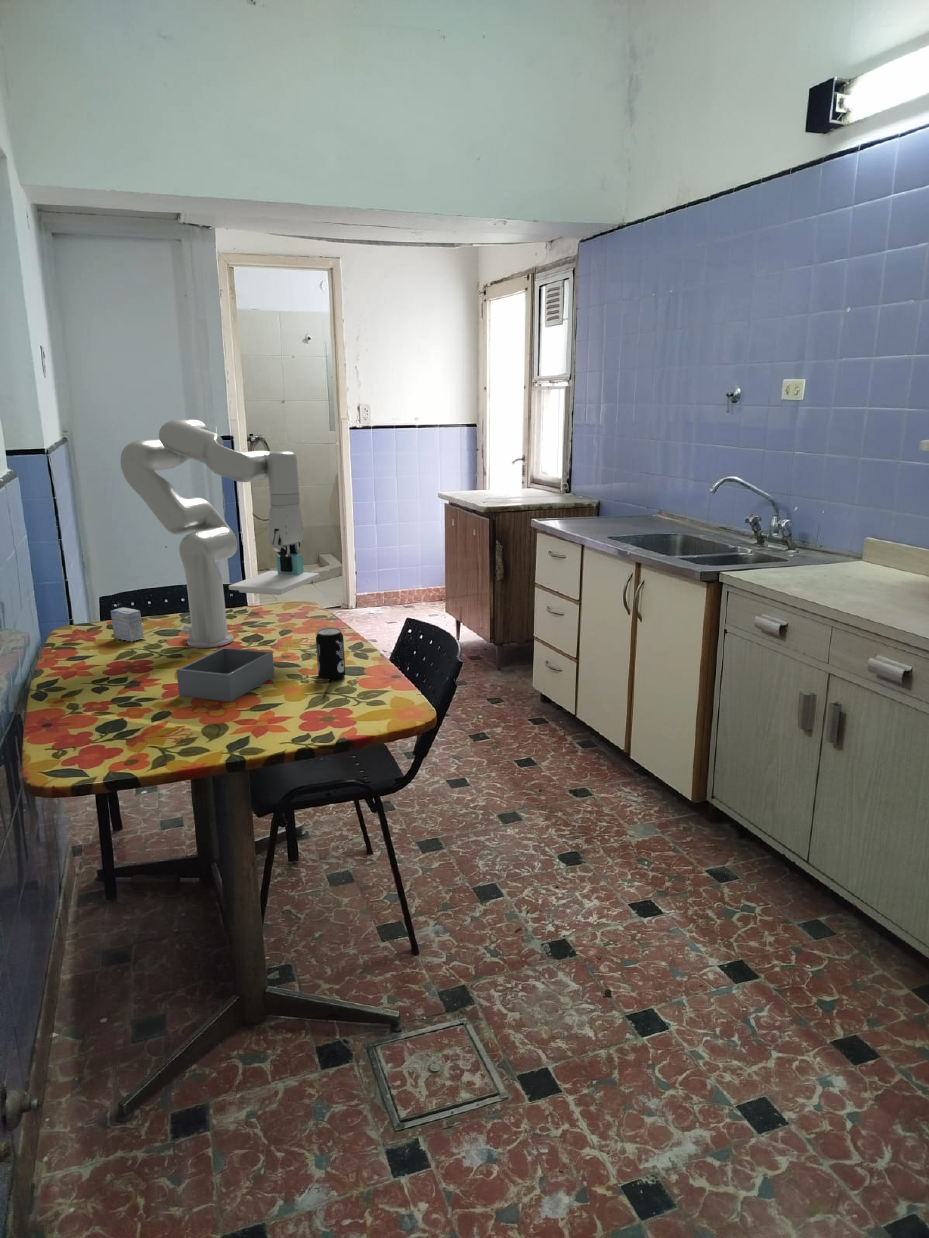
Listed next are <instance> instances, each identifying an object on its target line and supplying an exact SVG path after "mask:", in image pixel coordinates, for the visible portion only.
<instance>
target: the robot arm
mask: <svg viewBox="0 0 929 1238" xmlns="http://www.w3.org/2000/svg"><path fill="white" fill-rule="evenodd" d="M119 459H120V470H121V472H122V474H123V477H124V479H125V480H126V482H127V483H128V484H129V486H130V487H131V488H132V489H133V490H134V491H135V493H137V495H138V496H139V497H140V498H141V499H142V501H144V503H145V504H146V505H147V507H148V508H149V510H151V512H152V513H153V514H154V515H155V517H156V518H157V519H158V521H159V522H160V523H161V525H162V526H163V527H164V528H165V529H166V530H167V532H168V533H170V534H172V535H176V536H177V535H184V534H186V535H185V536H184V537H182V539H181V541H180V543H179V545H178V546H179V548H178V551H179V556H180V559H181V562H182V565H183V569H184V574H185V579H186V580H185V581H186V590H187V598H188V608H189V617H190V625H187V624H185V625H184V626H183V629H181V633H182V634H183V635H188V638H187V639H186V643H187V645H188V646H189V647H191V648H199V649H209V648H210V649H211V648H215V647H216V648H217V647H223V646H225V645H228V644H230V643H232V642H233V641H234V640H235V637H234V635H233V634H232V633H230V632H228V624H227V614H226V602H225V594H224V586H223V577H222V575H221V572H220V570H219V568H218V567H217V564H216V563H218V562H221V561H225V560H227V559H230V558H231V557H233V556H234V555H235V554H236V552H237V550H238V540H237V537H236V535H235V533H234V531H233V530H232V529H231V527H230V526H229V525H228V523H227V522H226V521H225V520H224V518H223V516H221V515H220V513H219V512H218V511H217V509H216V508H215V507H214V506H213V504H211V502H210V501H208V500H206V499H205V498H202V497H199V496H192V497H182V496H181V495H180V493H178V491H177V490H176V489H175V487H174V486H173V484H171V483H170V481H168V480H167V479H166V478H164V477H162V476H161V475H160V474H158V473H157V472H156V471H160V470H161V471H162V470H169V469H175V468H177V467H179V466H180V465H182V464H184V463H185V462H187V461H189V460H190V459H192V460H195V461H196V462H199V463H202V464H205V465H206V467H207V468H208V469H209V470H210V471H211V472H213V473H215V474H216V475H218V476H220V477H223V478H227V479H229V480H231V481H235V482H238V483H248V482H249V483H250V482H255V481H262V480H268V489H269V490H268V491H269V492H268V493H269V503H270V505H269V506H270V507H269V511H268V512H269V513H268V537H269V538H268V539H269V544H270V545H271V546H272V550H274V551H275V552H276V553H277V555H278V556H279V557H280V568H281V571H282V572H292V559H291V557H289V556H290V554H300V553H301V552H300V547H301V545H302V543H303V541H304V522H303V517H302V511H301V507H300V506H301V501H300V500H301V499H300V498H301V497H300V485H299V483H300V482H299V473H298V469H299V468H298V458H297V455H296V453H295V452H293V451H288V450H287V451H286V450H284V451H282V450H281V451H271V450H262V449H259V450H251V451H250V450H249V451H237V450H234V449H230V448H228V447H226V446H224V439H223V438H222V436H220V435H219V434H218V433H216V432H213V431H210V429H209V427H208V426H207V425H206V424H205V423H204V422H203V421H201V420H199V419H189V418H188V419H172V420H169V421H167V422H164V423H163V425H161V427H160V429H159V431H158V438H150V439H149V438H147V439H140V440H134V441H131V442H130V443H128V444H127V445H125V447H124V448H123V449H122V451H121V453H120V458H119Z"/></svg>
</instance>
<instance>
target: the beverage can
mask: <svg viewBox="0 0 929 1238" xmlns="http://www.w3.org/2000/svg"><path fill="white" fill-rule="evenodd" d="M316 633H317V635H316V636H315V648H316V660H317V661H316V663H317V664H316V665H317V677H318V678H319V679H322V680H328V681H333V682H337V681H341V680H343V679H344V677H345V676H346V662H345V661H346V660H345V659H346V658H345V644H344V643H345V642H344V641H345V640H344V634H343V633H342V629H340V628H338V627H324V628H320V629H317V631H316Z"/></svg>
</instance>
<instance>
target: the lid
mask: <svg viewBox="0 0 929 1238" xmlns="http://www.w3.org/2000/svg"><path fill="white" fill-rule="evenodd" d="M289 557H291V559H292V572H282V571H281V568H280V557H279V556H278V554H276V567H277V569H276V570H268V571H265V572H262V573H259V574H257V575H255V576H252V577H249V578H247V579H244V580H241V581H240V580H239V581H238V582H235V583H233V584H230V585H228V589H229V591H230V590H231V591H238V592H239V593H241V594H242V593H243V594H259V595H274V596H280V595H283V594H285V593H288V592H290V591H293V590H295V589H297V588H299V587H302V586H304V585H306V584H307V585H308V584H309V583H311V582H312V581H314V580H316V579H319V578H321V574H320V572H304V561H303V559H304V558H303V554H302V553H299V554H290V556H289Z"/></svg>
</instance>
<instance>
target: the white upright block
mask: <svg viewBox="0 0 929 1238" xmlns="http://www.w3.org/2000/svg"><path fill="white" fill-rule="evenodd" d="M110 617H111V624H112V631H113V638H118V639H121V640H120V641H123V640H127V641H133V640H138V639H141V638H145V635H144V631H143V629H144V628H143V623H142V622H143V621H142V617H141V610H139V609H135V608H130V607H118V608H116V609H113V610H110ZM118 639H117V640H118ZM127 641H126V642H127Z"/></svg>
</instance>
